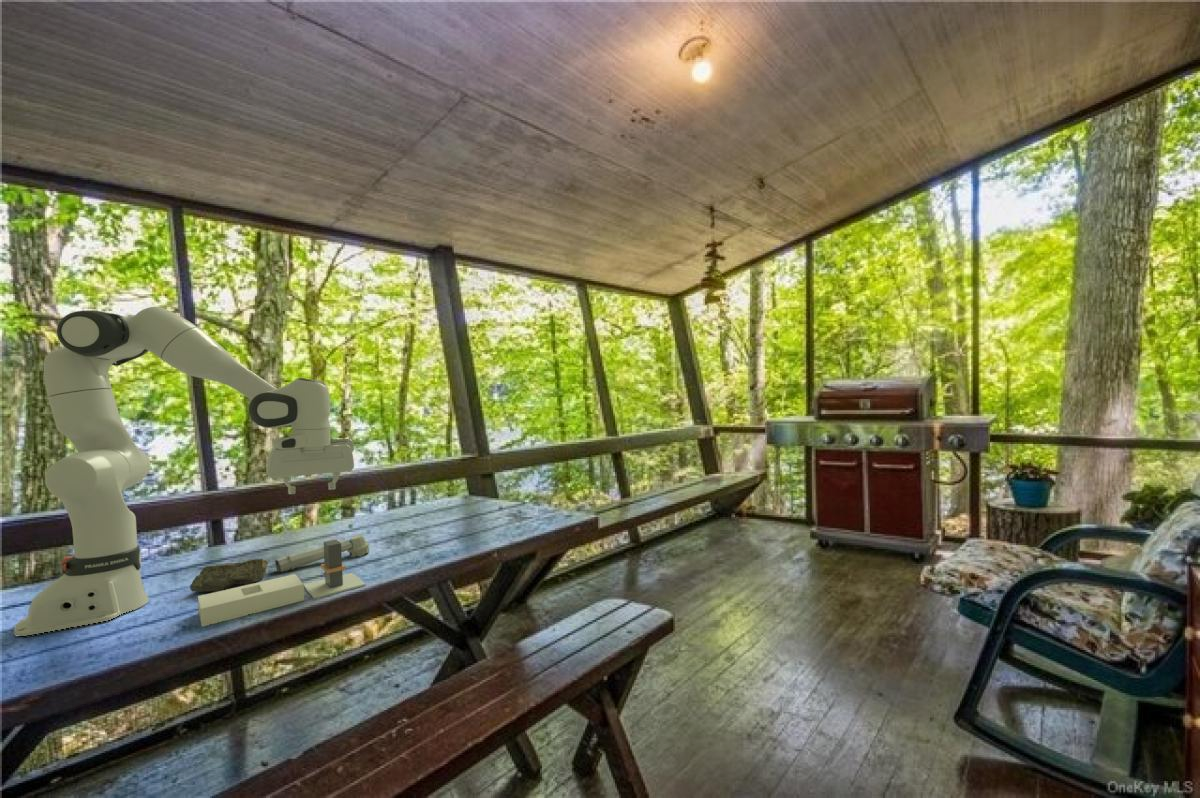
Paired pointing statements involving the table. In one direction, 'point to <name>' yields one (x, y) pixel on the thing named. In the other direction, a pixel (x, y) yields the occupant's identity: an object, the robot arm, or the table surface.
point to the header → (249, 599)
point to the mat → (322, 589)
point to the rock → (229, 575)
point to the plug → (333, 563)
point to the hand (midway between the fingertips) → (312, 491)
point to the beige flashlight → (322, 554)
